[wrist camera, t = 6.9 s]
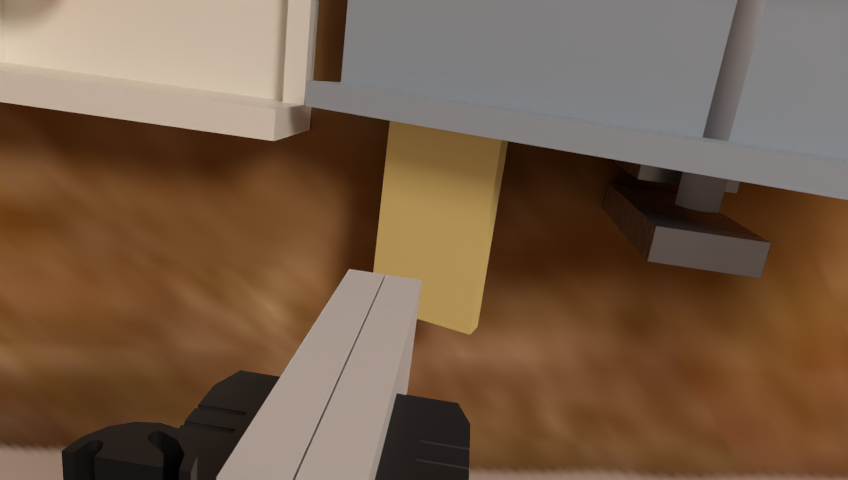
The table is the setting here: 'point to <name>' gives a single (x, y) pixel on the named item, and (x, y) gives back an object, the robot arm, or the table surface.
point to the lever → (582, 109)
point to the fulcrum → (682, 227)
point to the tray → (164, 61)
